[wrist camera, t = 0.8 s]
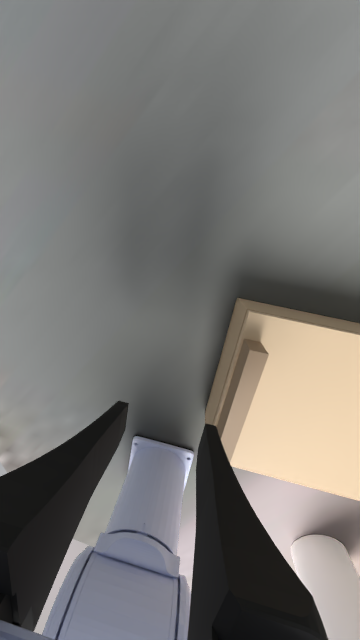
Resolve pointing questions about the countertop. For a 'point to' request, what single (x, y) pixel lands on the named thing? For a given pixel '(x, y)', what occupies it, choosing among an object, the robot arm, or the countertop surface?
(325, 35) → the countertop surface
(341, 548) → the cylindrical container
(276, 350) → the lid
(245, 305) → the mailer box
